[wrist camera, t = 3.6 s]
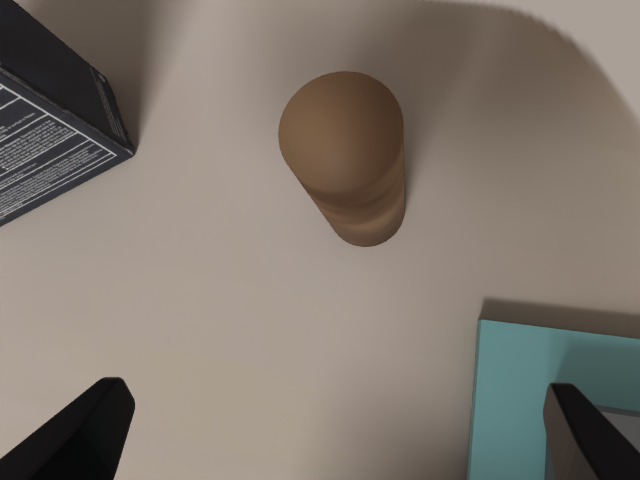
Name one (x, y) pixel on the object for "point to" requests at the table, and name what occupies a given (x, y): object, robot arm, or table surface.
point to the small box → (50, 116)
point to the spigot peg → (348, 154)
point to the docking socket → (543, 393)
